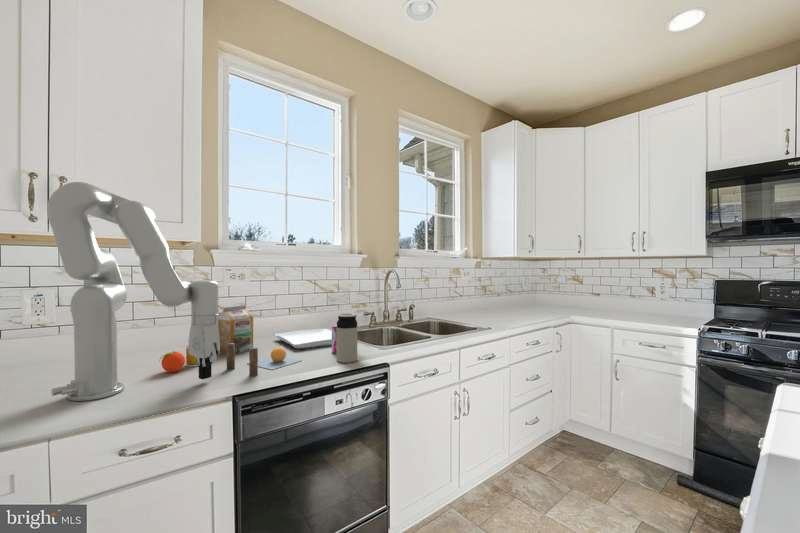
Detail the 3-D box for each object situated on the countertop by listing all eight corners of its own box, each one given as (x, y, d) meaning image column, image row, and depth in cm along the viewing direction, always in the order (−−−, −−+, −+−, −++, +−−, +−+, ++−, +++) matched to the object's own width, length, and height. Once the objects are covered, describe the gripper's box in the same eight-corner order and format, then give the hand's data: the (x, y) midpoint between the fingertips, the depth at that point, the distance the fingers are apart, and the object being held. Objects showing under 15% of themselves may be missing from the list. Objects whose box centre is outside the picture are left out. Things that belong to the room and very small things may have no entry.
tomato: (163, 377, 121) (163, 355, 120) (154, 373, 125) (154, 352, 124) (188, 371, 127) (188, 350, 127) (179, 367, 131) (179, 347, 131)
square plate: (294, 352, 155) (294, 343, 155) (273, 341, 177) (273, 333, 177) (350, 344, 171) (350, 336, 171) (325, 334, 193) (325, 327, 193)
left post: (229, 370, 128) (229, 344, 128) (225, 369, 129) (225, 344, 129) (236, 368, 130) (236, 343, 130) (231, 367, 132) (231, 342, 131)
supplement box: (331, 353, 152) (331, 326, 152) (337, 350, 158) (338, 323, 158) (343, 354, 150) (343, 327, 150) (350, 351, 156) (350, 324, 156)
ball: (288, 362, 140) (276, 363, 135) (278, 360, 143) (266, 361, 138) (289, 347, 140) (277, 348, 136) (279, 346, 143) (268, 347, 139)
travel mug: (339, 364, 137) (339, 316, 136) (334, 358, 144) (334, 313, 144) (359, 362, 140) (359, 315, 139) (354, 357, 147) (354, 312, 147)
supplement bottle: (184, 364, 135) (184, 338, 134) (200, 362, 138) (200, 336, 138) (188, 368, 131) (188, 340, 131) (204, 365, 135) (204, 338, 134)
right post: (252, 376, 121) (252, 349, 121) (247, 375, 123) (247, 348, 123) (259, 374, 124) (259, 348, 123) (254, 373, 125) (254, 347, 125)
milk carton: (230, 355, 149) (230, 308, 148) (215, 351, 155) (215, 306, 154) (253, 349, 158) (253, 305, 157) (238, 346, 163) (238, 304, 163)
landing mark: (272, 370, 129) (272, 369, 129) (246, 364, 136) (246, 363, 136) (301, 360, 141) (301, 360, 141) (277, 355, 148) (277, 355, 148)
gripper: (179, 319, 116) (180, 377, 116) (207, 324, 108) (207, 385, 108) (203, 316, 122) (203, 371, 122) (230, 320, 114) (230, 378, 115)
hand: (205, 377), depth 115 cm, fingers closed
